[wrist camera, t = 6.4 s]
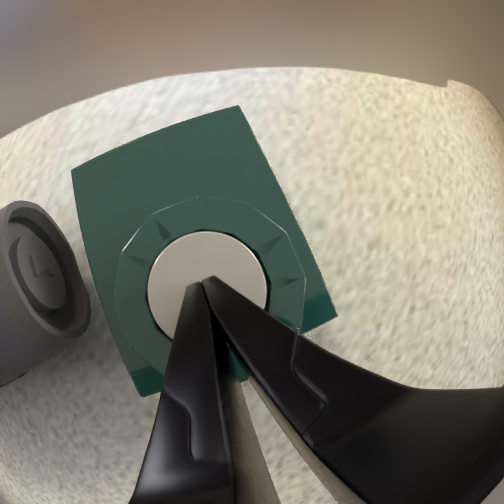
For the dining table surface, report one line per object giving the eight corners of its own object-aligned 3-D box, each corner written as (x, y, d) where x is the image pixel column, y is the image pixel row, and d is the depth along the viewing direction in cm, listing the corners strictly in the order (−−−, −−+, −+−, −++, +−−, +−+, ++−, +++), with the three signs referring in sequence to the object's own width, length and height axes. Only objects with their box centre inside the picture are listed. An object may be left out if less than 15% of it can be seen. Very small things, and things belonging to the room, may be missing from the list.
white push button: (273, 318, 10) (285, 322, 8) (184, 355, 9) (174, 367, 7) (235, 230, 10) (238, 213, 8) (147, 265, 10) (131, 256, 8)
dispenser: (296, 315, 18) (361, 323, 9) (171, 366, 16) (130, 419, 8) (232, 168, 19) (241, 80, 11) (116, 213, 18) (53, 152, 9)
